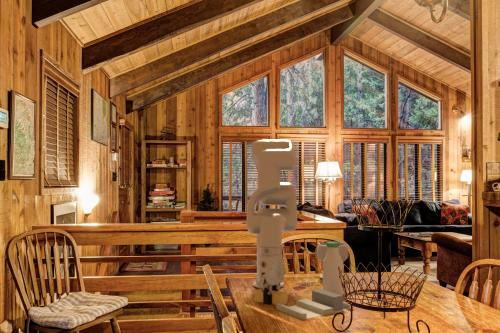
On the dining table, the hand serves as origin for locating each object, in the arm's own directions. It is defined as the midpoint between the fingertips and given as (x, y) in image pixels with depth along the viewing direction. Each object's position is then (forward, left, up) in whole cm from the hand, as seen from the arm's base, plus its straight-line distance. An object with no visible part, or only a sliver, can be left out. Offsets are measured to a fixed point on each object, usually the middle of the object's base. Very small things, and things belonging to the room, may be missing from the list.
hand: (271, 303), depth 164 cm
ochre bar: (0, 0, 0) cm, 1 cm away
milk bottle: (+2, +27, -1) cm, 27 cm away
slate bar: (+15, +12, +1) cm, 20 cm away
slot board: (+15, +7, 0) cm, 17 cm away
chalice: (-22, +48, -1) cm, 53 cm away
